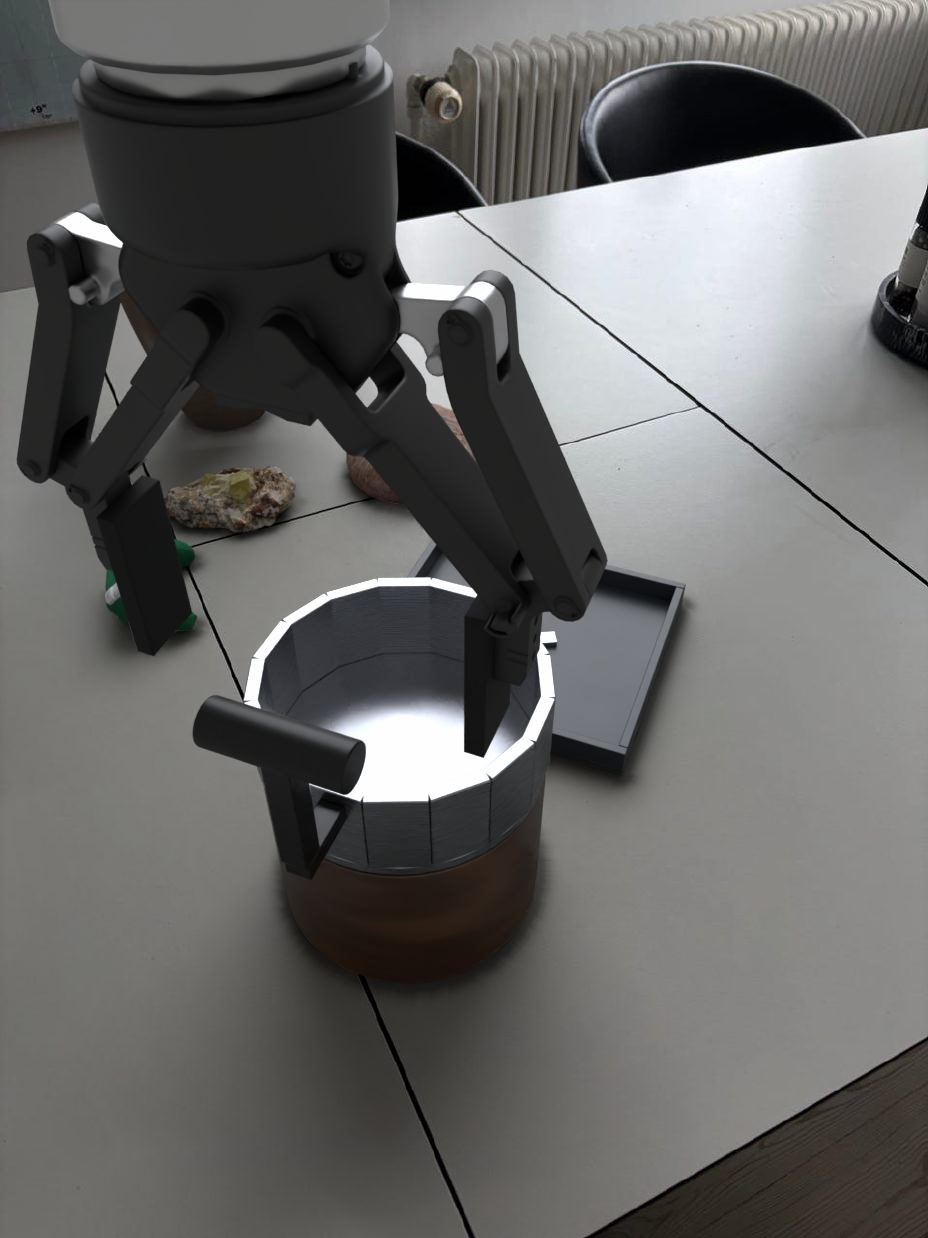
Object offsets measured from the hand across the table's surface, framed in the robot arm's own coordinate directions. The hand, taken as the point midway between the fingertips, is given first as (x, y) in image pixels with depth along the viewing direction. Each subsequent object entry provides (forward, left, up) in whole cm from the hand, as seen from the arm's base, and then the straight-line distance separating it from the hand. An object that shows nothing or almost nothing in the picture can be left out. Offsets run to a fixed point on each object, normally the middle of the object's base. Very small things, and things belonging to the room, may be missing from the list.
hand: (318, 678), depth 38 cm
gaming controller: (-34, -4, -22) cm, 41 cm away
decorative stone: (-42, +20, -22) cm, 52 cm away
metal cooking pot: (-4, +4, -12) cm, 13 cm away
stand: (-5, +5, -22) cm, 23 cm away
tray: (-19, +19, -22) cm, 34 cm away
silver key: (-19, +18, -22) cm, 34 cm away
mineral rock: (-43, +4, -22) cm, 49 cm away
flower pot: (-58, +7, -22) cm, 63 cm away
